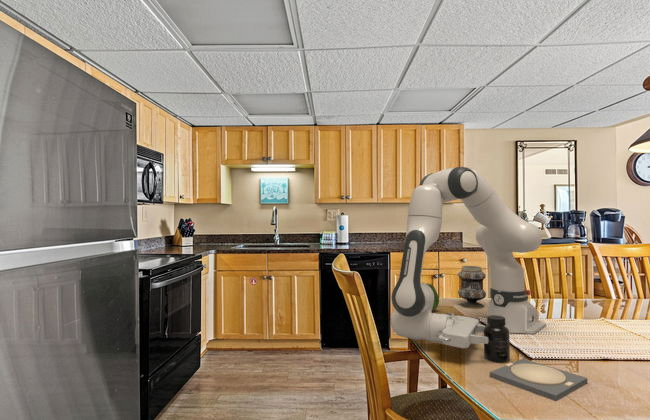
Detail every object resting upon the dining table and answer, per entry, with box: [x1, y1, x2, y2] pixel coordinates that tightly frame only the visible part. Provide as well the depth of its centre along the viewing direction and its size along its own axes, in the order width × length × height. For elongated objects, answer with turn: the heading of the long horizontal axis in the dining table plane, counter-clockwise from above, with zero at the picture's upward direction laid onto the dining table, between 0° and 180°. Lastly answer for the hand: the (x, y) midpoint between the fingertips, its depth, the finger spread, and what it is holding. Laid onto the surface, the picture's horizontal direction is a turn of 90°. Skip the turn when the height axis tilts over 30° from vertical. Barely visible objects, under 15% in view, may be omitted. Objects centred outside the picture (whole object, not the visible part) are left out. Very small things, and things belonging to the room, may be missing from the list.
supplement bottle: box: [483, 315, 511, 364], centre depth 111 cm, size 7×7×12 cm
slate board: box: [489, 358, 588, 402], centre depth 97 cm, size 16×16×2 cm
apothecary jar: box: [457, 265, 487, 309], centre depth 177 cm, size 12×12×18 cm
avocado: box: [426, 283, 440, 312], centre depth 168 cm, size 8×8×12 cm
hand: (490, 335), depth 112 cm, fingers open, 8 cm apart
